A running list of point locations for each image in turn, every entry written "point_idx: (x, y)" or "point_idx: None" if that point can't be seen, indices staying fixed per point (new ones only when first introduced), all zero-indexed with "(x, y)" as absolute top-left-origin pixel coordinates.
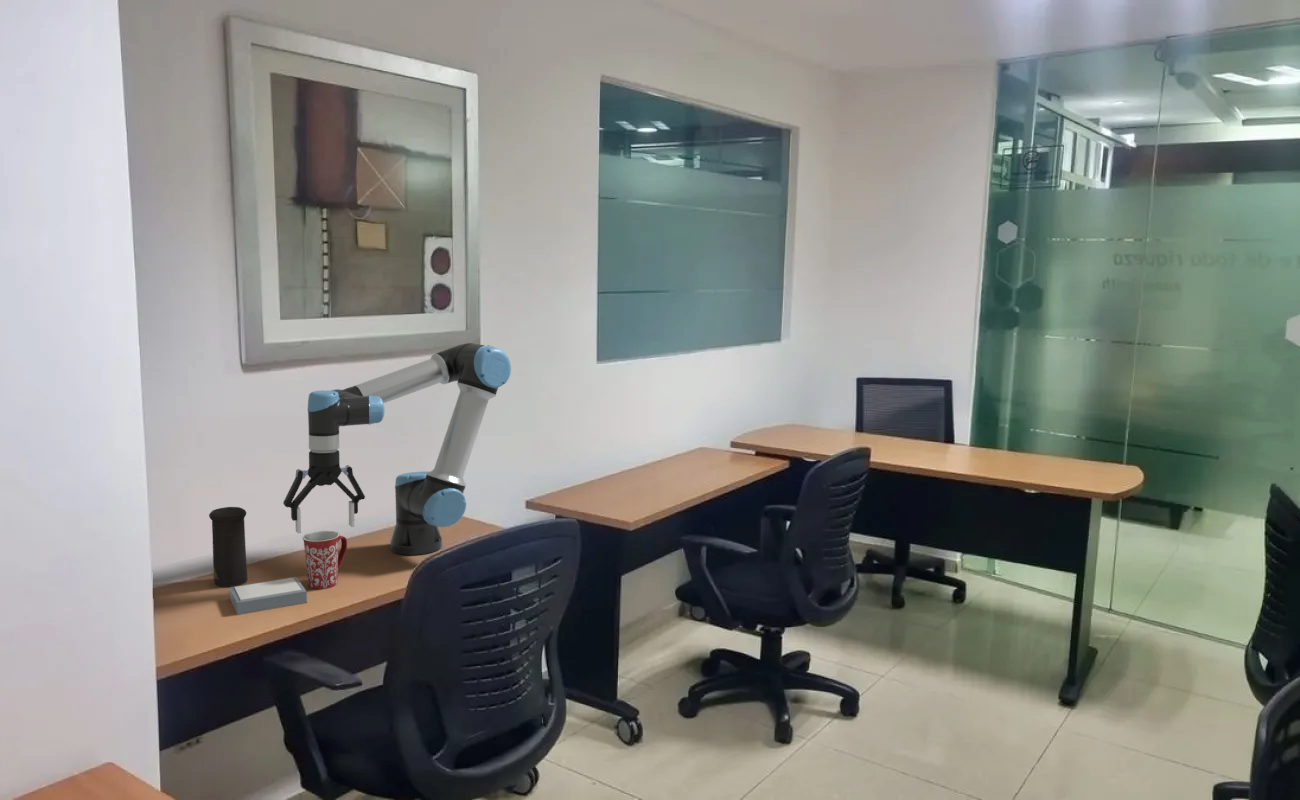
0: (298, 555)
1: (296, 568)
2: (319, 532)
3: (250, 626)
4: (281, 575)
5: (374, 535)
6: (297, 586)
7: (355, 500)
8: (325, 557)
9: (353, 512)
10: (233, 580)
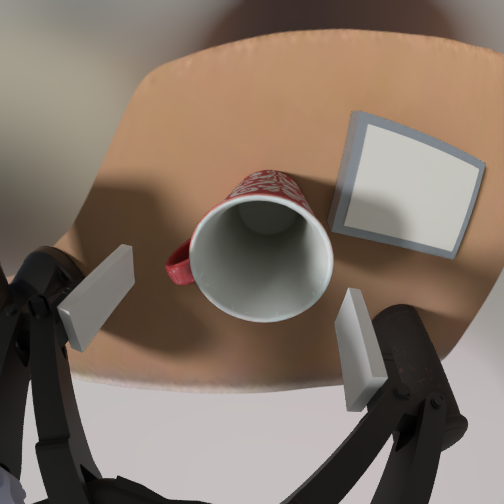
0: (240, 373)
1: (271, 326)
2: (244, 312)
3: (473, 85)
4: (313, 309)
5: (112, 368)
6: (366, 154)
7: (43, 313)
8: (273, 184)
9: (88, 278)
10: (408, 311)
